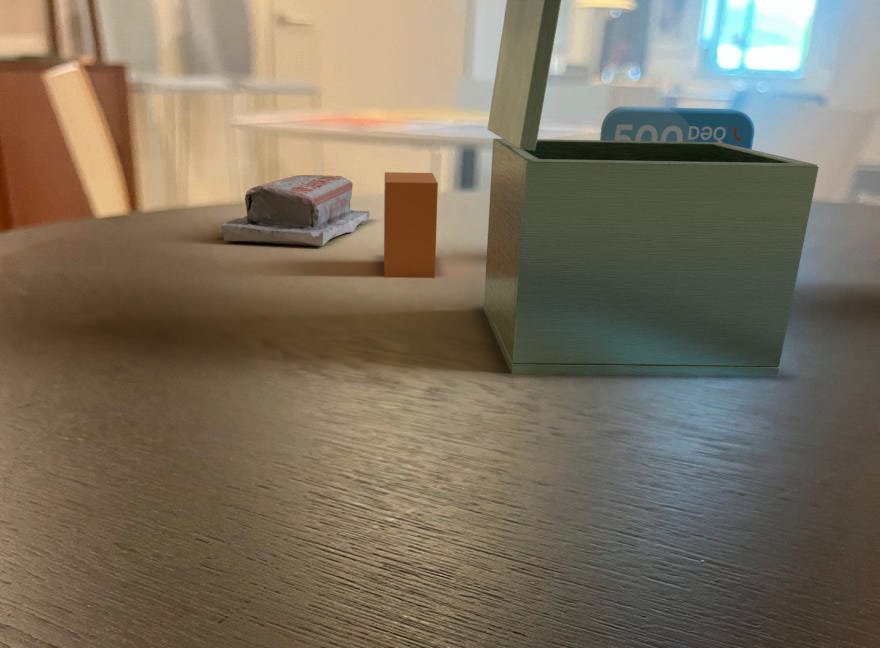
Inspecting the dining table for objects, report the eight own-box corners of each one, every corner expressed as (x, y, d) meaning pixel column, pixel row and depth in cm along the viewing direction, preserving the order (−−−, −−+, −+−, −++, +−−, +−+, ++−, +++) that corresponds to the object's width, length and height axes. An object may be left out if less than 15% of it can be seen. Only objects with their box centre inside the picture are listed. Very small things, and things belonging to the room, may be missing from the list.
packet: (430, 261, 88) (432, 172, 84) (434, 279, 81) (438, 182, 77) (383, 261, 88) (384, 172, 84) (384, 278, 81) (385, 182, 77)
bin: (694, 316, 70) (721, 142, 65) (776, 381, 56) (819, 164, 50) (483, 313, 70) (493, 138, 65) (511, 378, 55) (526, 160, 50)
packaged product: (278, 170, 108) (370, 173, 106) (280, 219, 110) (370, 223, 108) (216, 186, 92) (322, 191, 91) (220, 243, 95) (323, 248, 93)
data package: (589, 264, 88) (605, 107, 82) (588, 256, 92) (603, 105, 86) (731, 270, 87) (758, 111, 81) (724, 261, 90) (749, 109, 85)
